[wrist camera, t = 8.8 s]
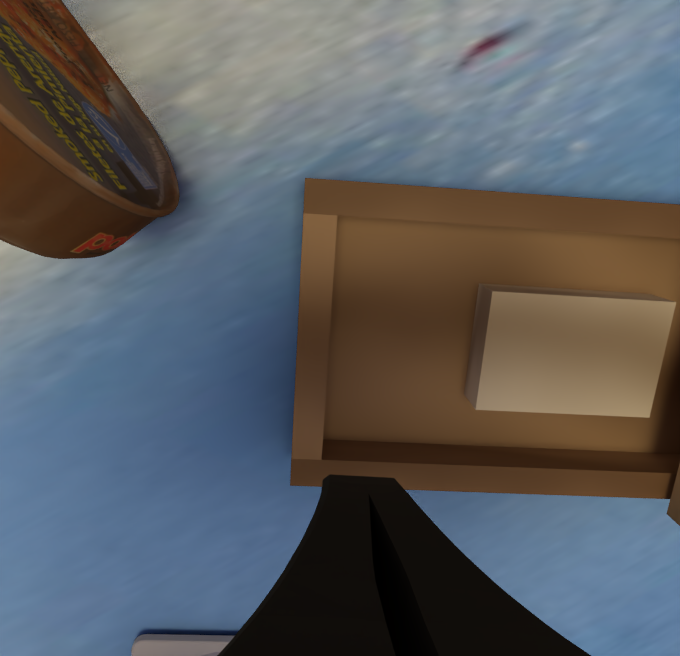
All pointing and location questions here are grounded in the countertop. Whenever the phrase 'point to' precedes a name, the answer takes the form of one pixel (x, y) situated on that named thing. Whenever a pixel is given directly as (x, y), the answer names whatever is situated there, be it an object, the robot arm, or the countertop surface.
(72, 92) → the tin
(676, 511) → the cover plate
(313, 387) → the box
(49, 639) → the countertop surface
